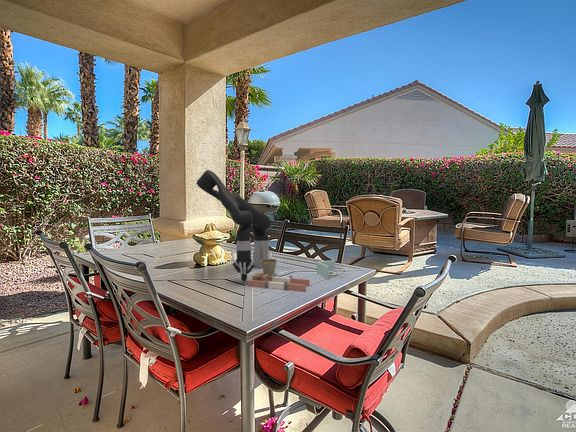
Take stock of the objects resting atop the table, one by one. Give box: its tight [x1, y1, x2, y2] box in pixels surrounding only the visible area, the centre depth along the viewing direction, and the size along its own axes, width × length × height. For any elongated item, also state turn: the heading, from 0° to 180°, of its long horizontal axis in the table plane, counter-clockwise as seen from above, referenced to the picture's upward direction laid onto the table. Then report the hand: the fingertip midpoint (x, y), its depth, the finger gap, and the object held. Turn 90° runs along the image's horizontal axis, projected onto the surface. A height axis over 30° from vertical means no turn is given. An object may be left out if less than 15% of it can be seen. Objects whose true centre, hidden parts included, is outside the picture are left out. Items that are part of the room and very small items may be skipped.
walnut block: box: [251, 272, 269, 281], centre depth 161 cm, size 7×6×5 cm
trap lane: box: [247, 273, 311, 292], centre depth 158 cm, size 30×11×4 cm, turn 74°
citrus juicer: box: [232, 251, 237, 263], centre depth 211 cm, size 12×15×14 cm
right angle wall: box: [316, 259, 338, 280], centre depth 176 cm, size 12×12×8 cm
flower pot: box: [261, 258, 278, 276], centre depth 176 cm, size 9×9×9 cm
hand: (244, 280), depth 163 cm, fingers closed
